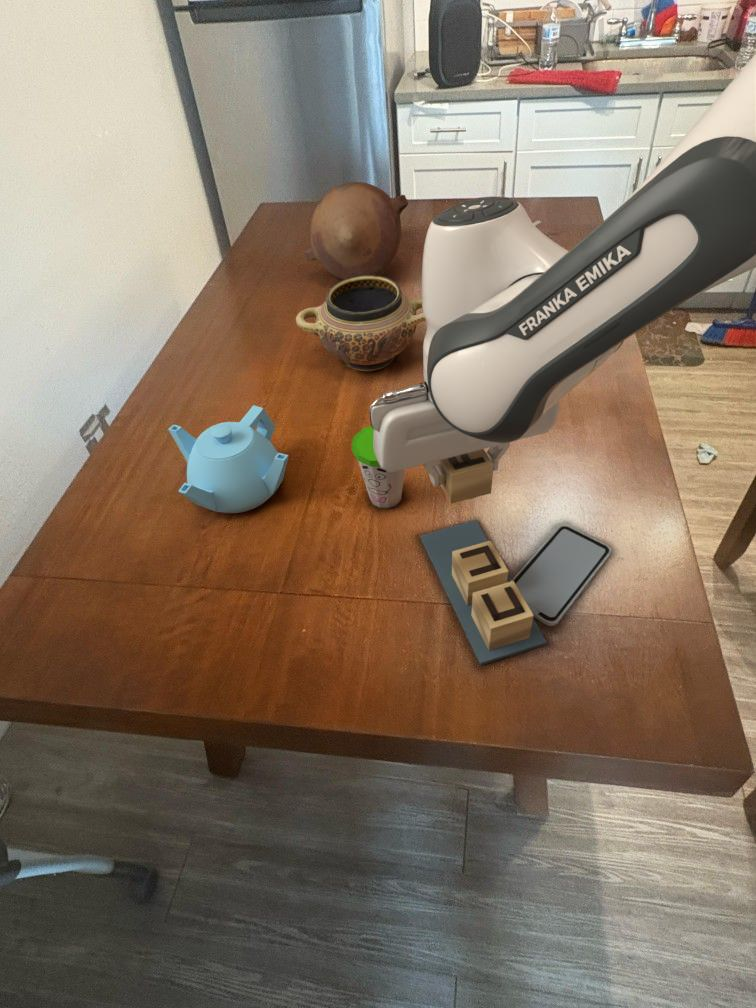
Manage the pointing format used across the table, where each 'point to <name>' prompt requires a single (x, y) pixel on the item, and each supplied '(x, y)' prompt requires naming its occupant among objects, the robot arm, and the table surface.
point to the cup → (376, 472)
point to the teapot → (232, 463)
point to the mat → (441, 558)
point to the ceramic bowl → (364, 321)
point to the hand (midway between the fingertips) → (463, 474)
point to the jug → (356, 230)
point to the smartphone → (560, 572)
